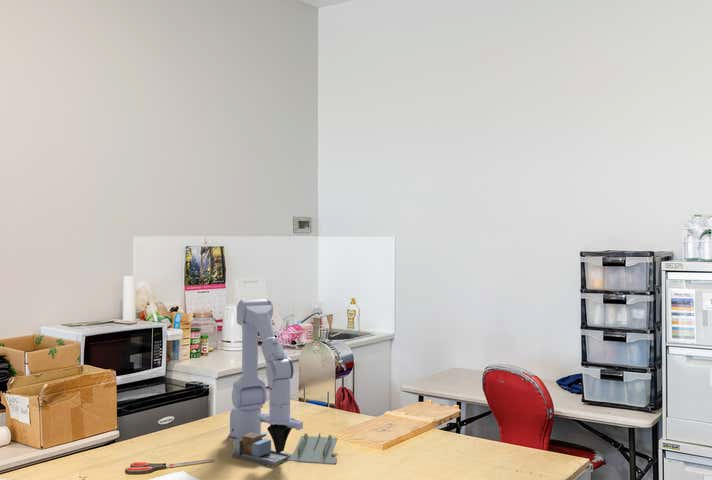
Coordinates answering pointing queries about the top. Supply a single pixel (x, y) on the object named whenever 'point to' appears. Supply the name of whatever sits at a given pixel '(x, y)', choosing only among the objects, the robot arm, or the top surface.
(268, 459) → the vise
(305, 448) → the metal bracket
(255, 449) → the block
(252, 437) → the block
